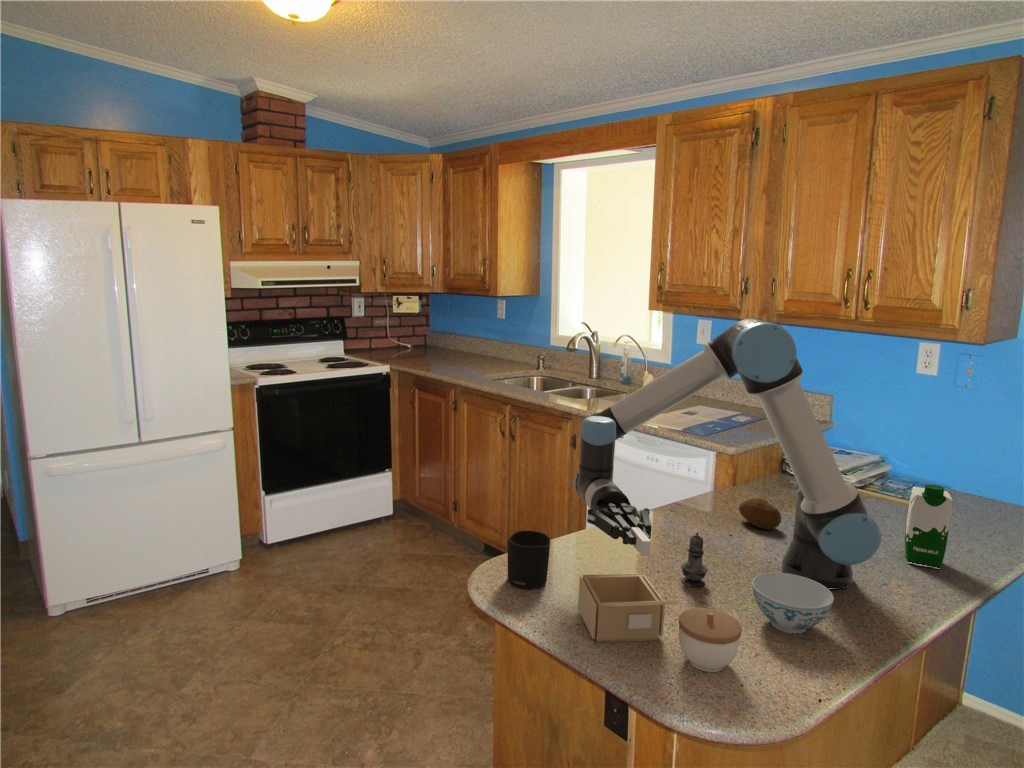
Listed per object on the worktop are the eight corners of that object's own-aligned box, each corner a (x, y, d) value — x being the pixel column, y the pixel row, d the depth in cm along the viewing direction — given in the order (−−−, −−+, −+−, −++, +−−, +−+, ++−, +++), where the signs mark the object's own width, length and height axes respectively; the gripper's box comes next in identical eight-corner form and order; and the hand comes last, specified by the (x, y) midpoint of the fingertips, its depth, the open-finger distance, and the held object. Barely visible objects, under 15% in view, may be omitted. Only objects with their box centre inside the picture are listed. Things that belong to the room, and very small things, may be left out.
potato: (773, 536, 183) (776, 508, 182) (730, 523, 192) (732, 496, 190) (786, 528, 189) (788, 502, 187) (743, 516, 197) (746, 490, 196)
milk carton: (903, 564, 167) (914, 486, 164) (900, 551, 175) (910, 477, 172) (945, 572, 164) (957, 492, 160) (940, 558, 172) (951, 482, 169)
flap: (658, 600, 127) (675, 601, 119) (659, 603, 127) (675, 604, 119) (601, 602, 126) (614, 603, 118) (602, 605, 125) (614, 606, 117)
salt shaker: (692, 590, 149) (696, 538, 147) (674, 579, 155) (678, 529, 153) (712, 585, 152) (716, 534, 150) (693, 575, 157) (698, 525, 155)
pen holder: (498, 576, 153) (499, 534, 151) (534, 568, 157) (536, 527, 156) (519, 594, 145) (521, 550, 143) (556, 585, 149) (558, 542, 148)
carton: (640, 607, 141) (643, 573, 140) (663, 641, 128) (666, 604, 127) (576, 609, 139) (578, 574, 138) (593, 644, 126) (595, 606, 125)
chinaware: (741, 604, 144) (744, 569, 143) (814, 610, 143) (818, 575, 141) (759, 641, 129) (763, 603, 128) (841, 649, 128) (845, 610, 127)
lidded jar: (671, 671, 119) (675, 621, 117) (679, 641, 129) (683, 594, 127) (736, 686, 115) (741, 635, 113) (739, 654, 125) (743, 606, 123)
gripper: (636, 519, 143) (680, 567, 120) (576, 520, 141) (608, 570, 118) (638, 484, 142) (683, 527, 119) (578, 485, 140) (611, 528, 117)
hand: (646, 548), depth 118 cm, fingers closed
